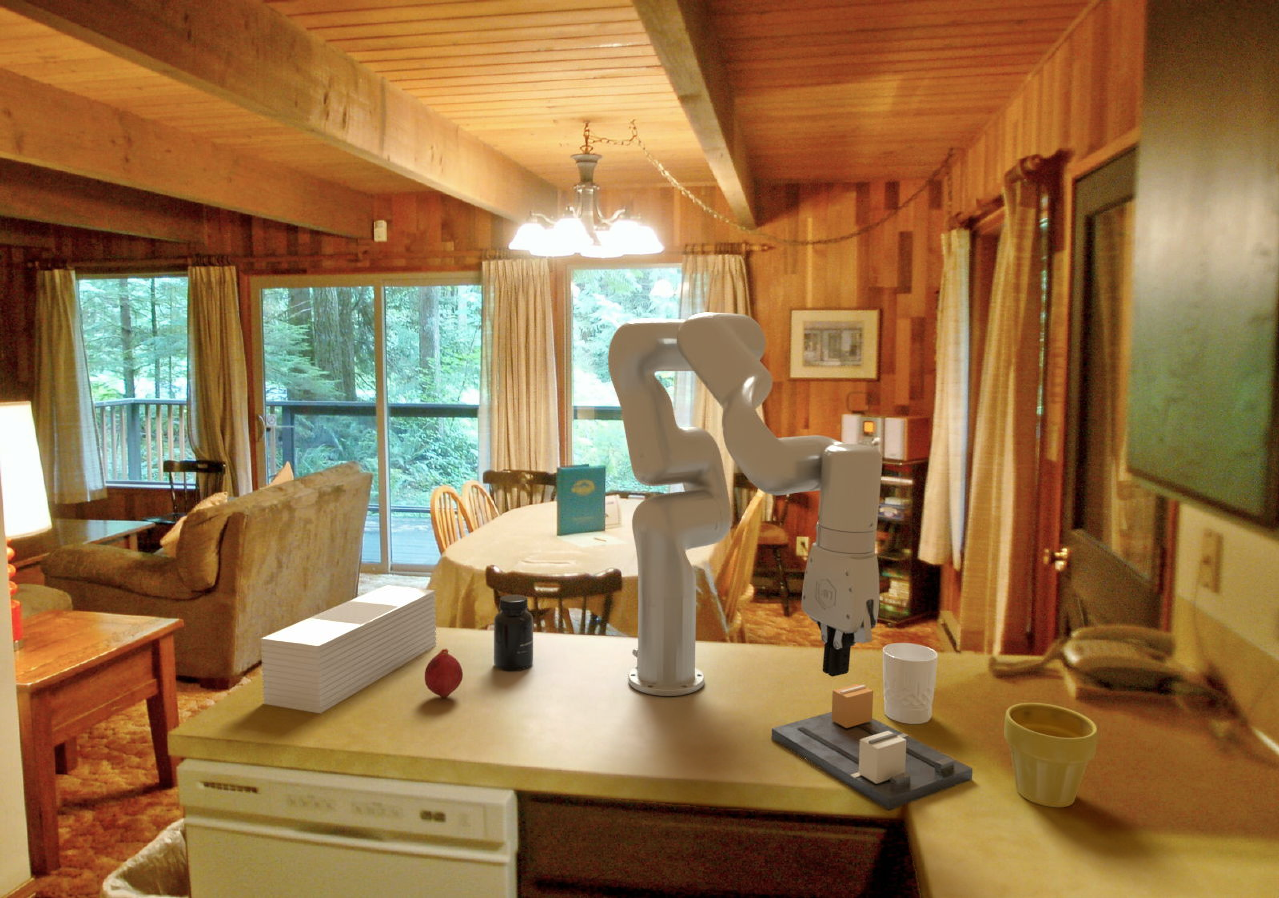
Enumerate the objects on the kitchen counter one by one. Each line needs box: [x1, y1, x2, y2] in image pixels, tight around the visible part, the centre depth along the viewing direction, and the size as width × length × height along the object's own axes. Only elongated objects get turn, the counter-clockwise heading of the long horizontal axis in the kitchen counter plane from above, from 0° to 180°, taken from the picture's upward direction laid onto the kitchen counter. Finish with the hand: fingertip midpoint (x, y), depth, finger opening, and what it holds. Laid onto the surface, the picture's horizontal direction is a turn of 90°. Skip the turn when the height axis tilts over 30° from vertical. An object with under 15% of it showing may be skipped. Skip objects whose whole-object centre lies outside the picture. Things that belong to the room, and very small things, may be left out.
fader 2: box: [859, 731, 906, 784], centre depth 107 cm, size 3×5×5 cm, turn 120°
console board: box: [771, 711, 973, 811], centre depth 115 cm, size 22×15×3 cm
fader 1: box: [831, 683, 874, 728], centre depth 122 cm, size 3×5×5 cm, turn 120°
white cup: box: [882, 642, 939, 725], centre depth 128 cm, size 8×8×10 cm
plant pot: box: [1003, 702, 1099, 808], centre depth 105 cm, size 10×10×10 cm
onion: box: [424, 647, 464, 699], centre depth 134 cm, size 6×6×8 cm
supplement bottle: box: [493, 594, 534, 672], centre depth 148 cm, size 7×7×12 cm
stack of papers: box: [260, 584, 437, 714], centre depth 144 cm, size 32×11×11 cm, turn 161°
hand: (835, 672), depth 113 cm, fingers closed
